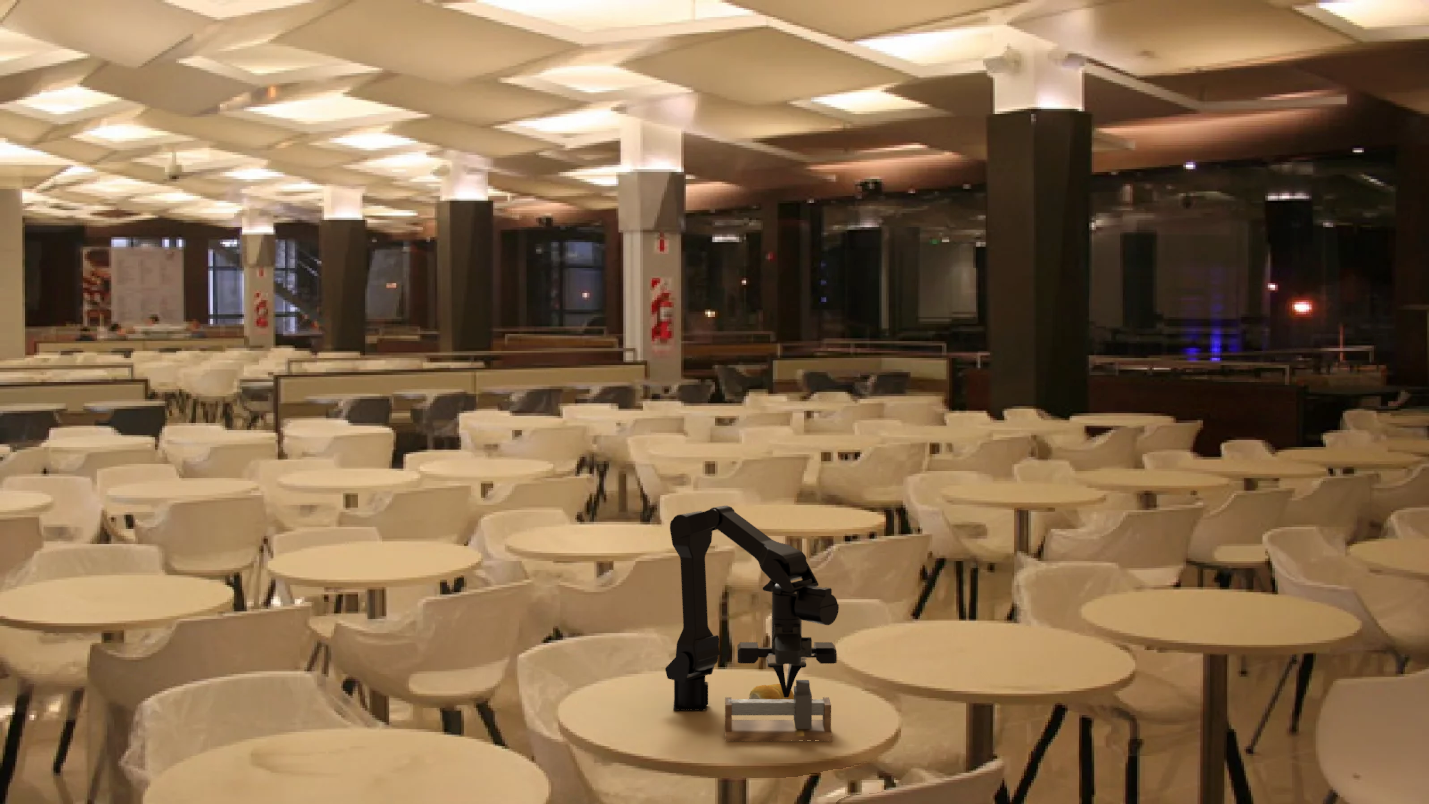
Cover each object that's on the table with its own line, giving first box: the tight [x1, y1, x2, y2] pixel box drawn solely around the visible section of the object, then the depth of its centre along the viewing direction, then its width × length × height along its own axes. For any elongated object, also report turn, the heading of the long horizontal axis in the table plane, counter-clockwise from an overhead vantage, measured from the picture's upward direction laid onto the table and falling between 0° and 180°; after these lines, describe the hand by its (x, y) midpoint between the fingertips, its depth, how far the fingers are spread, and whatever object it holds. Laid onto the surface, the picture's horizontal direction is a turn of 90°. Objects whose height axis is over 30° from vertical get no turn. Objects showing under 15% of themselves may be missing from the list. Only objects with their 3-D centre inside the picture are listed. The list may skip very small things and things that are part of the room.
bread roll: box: [748, 683, 794, 699], centre depth 297 cm, size 8×9×4 cm
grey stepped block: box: [793, 679, 813, 729], centre depth 277 cm, size 3×6×8 cm, turn 0°
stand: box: [724, 696, 833, 742], centre depth 277 cm, size 20×10×6 cm, turn 90°
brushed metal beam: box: [728, 698, 827, 716], centre depth 277 cm, size 19×3×3 cm, turn 90°
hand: (786, 697), depth 277 cm, fingers closed
